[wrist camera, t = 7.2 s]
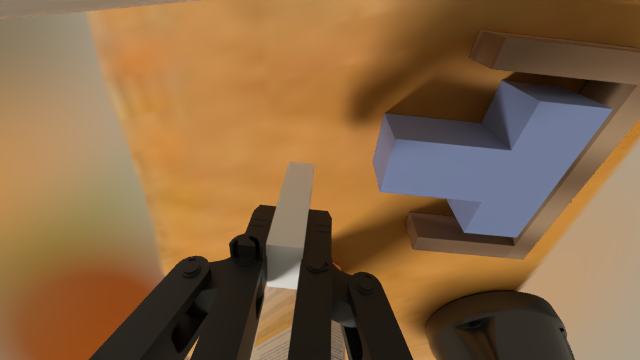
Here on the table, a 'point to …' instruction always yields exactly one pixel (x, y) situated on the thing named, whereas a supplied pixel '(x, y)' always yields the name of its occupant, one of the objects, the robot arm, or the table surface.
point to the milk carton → (68, 6)
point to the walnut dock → (628, 106)
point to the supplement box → (285, 327)
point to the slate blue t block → (490, 155)
